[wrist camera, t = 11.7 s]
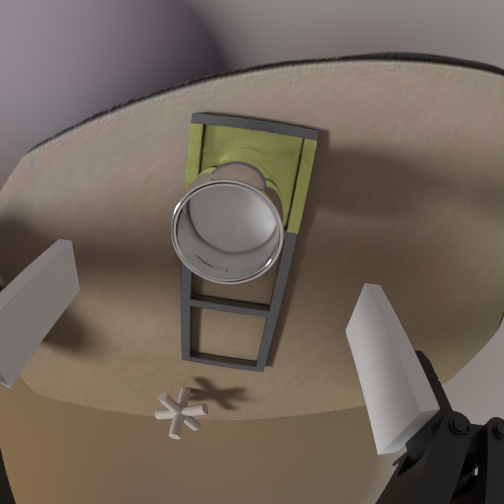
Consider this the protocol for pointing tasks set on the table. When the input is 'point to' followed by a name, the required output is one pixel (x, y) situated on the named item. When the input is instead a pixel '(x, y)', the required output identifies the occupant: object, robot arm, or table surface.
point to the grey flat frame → (284, 167)
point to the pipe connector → (180, 412)
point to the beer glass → (230, 219)
